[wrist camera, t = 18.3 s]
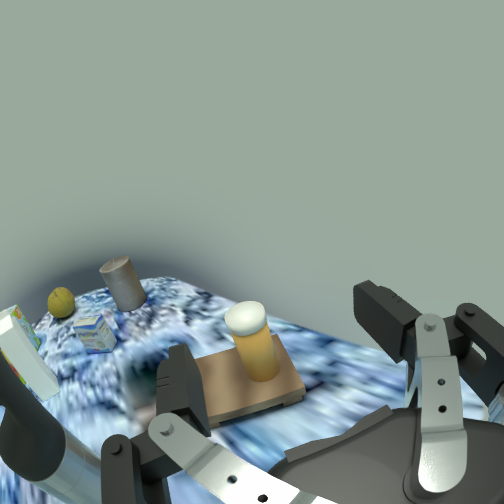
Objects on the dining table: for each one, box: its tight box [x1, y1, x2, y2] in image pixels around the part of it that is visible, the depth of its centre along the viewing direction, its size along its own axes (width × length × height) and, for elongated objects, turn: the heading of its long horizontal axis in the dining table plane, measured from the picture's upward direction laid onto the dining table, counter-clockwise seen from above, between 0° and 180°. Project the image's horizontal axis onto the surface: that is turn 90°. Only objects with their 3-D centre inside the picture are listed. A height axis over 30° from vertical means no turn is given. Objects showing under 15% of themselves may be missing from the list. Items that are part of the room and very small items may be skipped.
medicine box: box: [73, 314, 117, 354], centre depth 56 cm, size 8×4×9 cm, turn 93°
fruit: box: [48, 287, 75, 318], centre depth 74 cm, size 11×12×10 cm
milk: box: [0, 309, 60, 402], centre depth 39 cm, size 6×6×22 cm
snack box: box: [0, 305, 41, 385], centre depth 49 cm, size 21×6×15 cm, turn 21°
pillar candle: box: [100, 256, 147, 312], centre depth 72 cm, size 10×10×15 cm
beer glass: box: [225, 301, 280, 382], centre depth 37 cm, size 5×5×12 cm
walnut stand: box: [194, 334, 306, 428], centre depth 40 cm, size 17×13×4 cm
